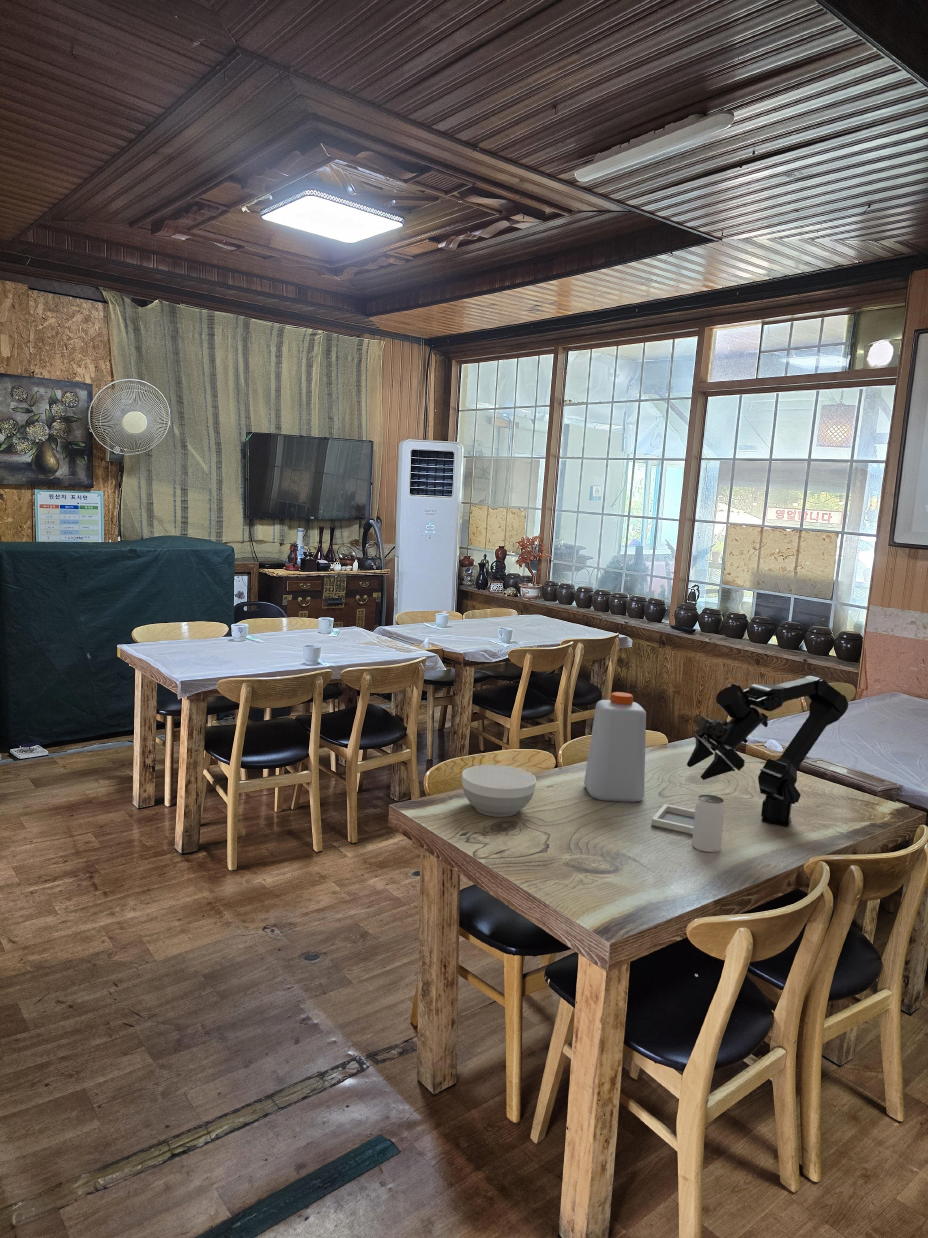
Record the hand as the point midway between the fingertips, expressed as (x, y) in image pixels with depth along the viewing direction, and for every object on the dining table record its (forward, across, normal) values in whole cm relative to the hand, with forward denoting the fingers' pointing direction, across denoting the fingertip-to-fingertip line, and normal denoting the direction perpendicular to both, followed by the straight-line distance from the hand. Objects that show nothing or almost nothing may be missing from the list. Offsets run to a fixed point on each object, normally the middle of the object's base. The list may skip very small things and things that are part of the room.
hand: (694, 772), depth 209 cm
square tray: (+11, -1, +8) cm, 14 cm away
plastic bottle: (+20, -23, 0) cm, 30 cm away
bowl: (+42, -9, -27) cm, 50 cm away
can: (+11, +14, +8) cm, 20 cm away
